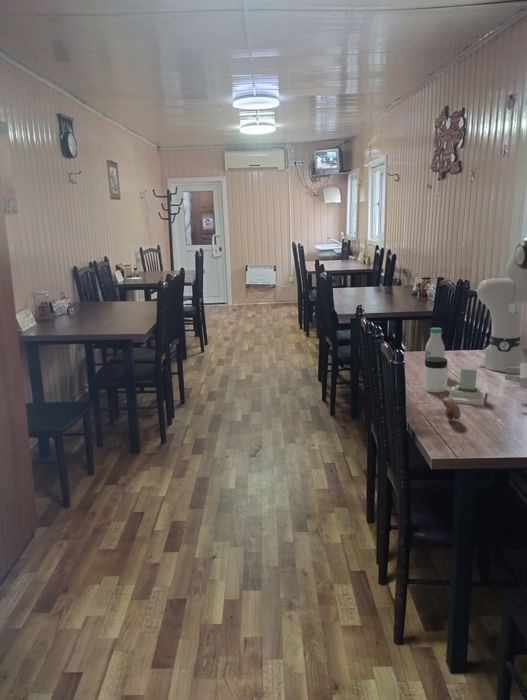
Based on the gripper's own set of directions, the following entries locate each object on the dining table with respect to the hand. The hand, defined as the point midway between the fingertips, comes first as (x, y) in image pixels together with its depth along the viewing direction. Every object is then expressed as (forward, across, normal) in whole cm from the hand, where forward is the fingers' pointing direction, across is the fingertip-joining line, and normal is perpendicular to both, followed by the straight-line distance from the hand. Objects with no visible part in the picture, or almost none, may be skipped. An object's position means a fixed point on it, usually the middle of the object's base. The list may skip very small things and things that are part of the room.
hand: (505, 373), depth 199 cm
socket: (+12, +1, +10) cm, 16 cm away
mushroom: (+15, +29, +10) cm, 34 cm away
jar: (+24, -4, +10) cm, 27 cm away
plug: (+12, +1, +10) cm, 16 cm away
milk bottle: (+27, -25, +11) cm, 38 cm away
